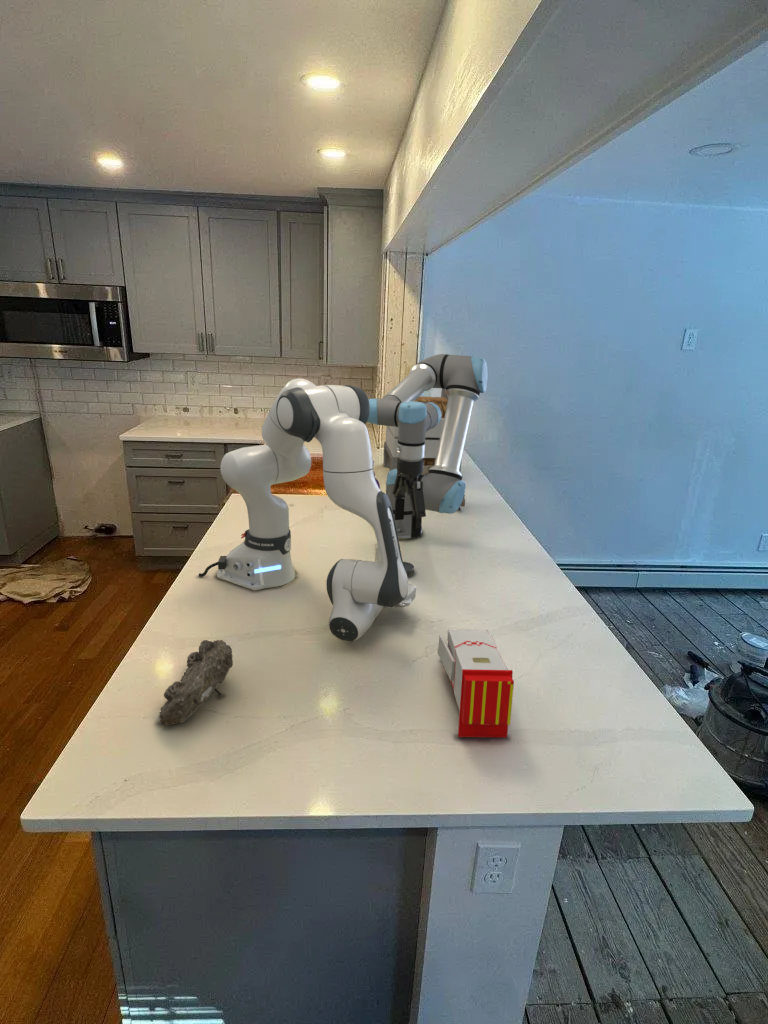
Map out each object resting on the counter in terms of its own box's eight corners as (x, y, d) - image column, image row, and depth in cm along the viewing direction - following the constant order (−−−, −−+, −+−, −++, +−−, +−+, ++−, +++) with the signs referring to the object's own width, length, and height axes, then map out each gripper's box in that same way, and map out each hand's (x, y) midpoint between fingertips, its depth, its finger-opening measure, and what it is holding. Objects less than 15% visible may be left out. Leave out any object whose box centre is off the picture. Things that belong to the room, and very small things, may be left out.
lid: (393, 577, 167) (393, 570, 167) (391, 567, 174) (392, 561, 173) (414, 577, 168) (415, 571, 167) (412, 568, 174) (413, 561, 173)
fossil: (185, 642, 124) (233, 610, 119) (215, 671, 126) (264, 641, 122) (136, 718, 104) (191, 685, 99) (173, 751, 107) (229, 720, 102)
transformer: (382, 463, 289) (386, 382, 275) (445, 464, 293) (451, 384, 279) (390, 482, 257) (394, 392, 243) (460, 483, 261) (468, 394, 247)
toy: (488, 613, 130) (523, 677, 101) (484, 667, 133) (517, 744, 104) (435, 612, 130) (455, 676, 101) (432, 666, 133) (451, 743, 103)
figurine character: (465, 515, 224) (460, 499, 237) (467, 498, 221) (462, 483, 234) (448, 515, 224) (444, 499, 237) (450, 498, 220) (445, 482, 234)
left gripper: (408, 595, 136) (423, 572, 149) (330, 580, 142) (351, 559, 155) (407, 618, 139) (421, 593, 151) (330, 602, 145) (350, 579, 157)
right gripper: (383, 447, 169) (381, 513, 176) (414, 472, 147) (410, 546, 154) (407, 446, 171) (404, 511, 179) (441, 470, 149) (435, 543, 157)
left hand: (385, 576), depth 153 cm, fingers closed on jar, 6 cm apart
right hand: (407, 528), depth 167 cm, fingers open, 13 cm apart
